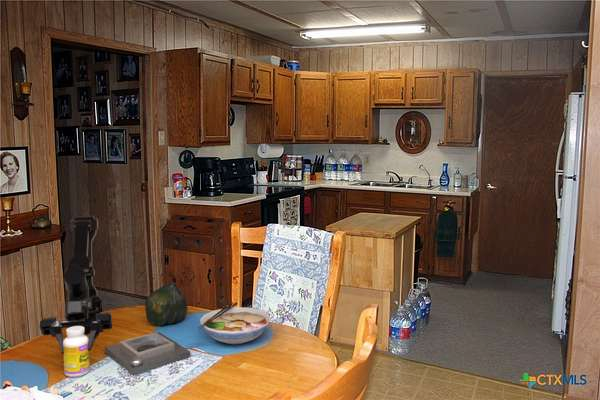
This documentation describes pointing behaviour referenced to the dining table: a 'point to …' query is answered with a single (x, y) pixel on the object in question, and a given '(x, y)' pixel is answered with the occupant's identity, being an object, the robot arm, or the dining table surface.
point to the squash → (166, 305)
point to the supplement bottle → (76, 352)
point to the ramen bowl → (235, 324)
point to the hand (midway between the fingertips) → (75, 352)
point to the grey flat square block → (146, 352)
